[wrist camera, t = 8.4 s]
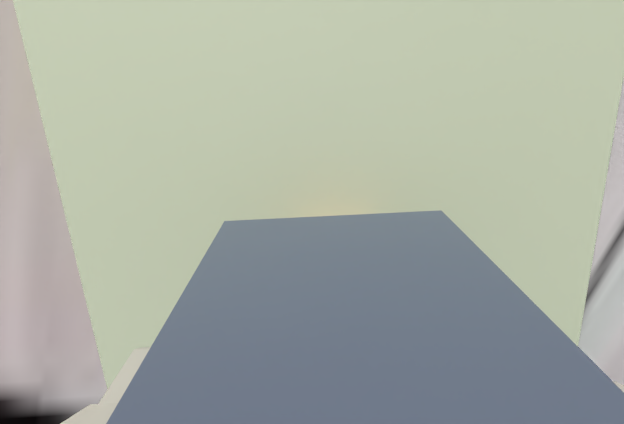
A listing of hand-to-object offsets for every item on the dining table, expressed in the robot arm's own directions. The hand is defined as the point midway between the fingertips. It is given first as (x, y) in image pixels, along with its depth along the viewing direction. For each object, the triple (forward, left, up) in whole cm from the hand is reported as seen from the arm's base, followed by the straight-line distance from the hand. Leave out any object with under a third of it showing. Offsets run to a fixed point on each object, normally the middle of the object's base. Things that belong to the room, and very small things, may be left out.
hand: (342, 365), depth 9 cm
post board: (0, 0, -6) cm, 6 cm away
